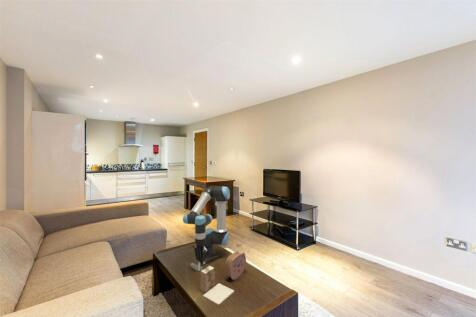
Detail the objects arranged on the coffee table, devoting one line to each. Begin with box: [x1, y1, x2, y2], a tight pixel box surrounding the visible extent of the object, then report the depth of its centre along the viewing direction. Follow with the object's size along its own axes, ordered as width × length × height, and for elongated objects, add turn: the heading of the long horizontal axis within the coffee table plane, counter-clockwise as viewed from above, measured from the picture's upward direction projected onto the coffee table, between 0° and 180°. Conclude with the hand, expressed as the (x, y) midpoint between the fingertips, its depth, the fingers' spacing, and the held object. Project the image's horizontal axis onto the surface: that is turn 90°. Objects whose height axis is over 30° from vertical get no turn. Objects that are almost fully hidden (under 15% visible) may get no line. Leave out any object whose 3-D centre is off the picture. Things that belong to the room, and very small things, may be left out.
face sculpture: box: [224, 251, 247, 281], centre depth 161 cm, size 20×7×17 cm, turn 144°
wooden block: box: [200, 265, 216, 294], centre depth 146 cm, size 9×5×13 cm, turn 144°
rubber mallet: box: [189, 253, 223, 272], centre depth 181 cm, size 10×4×30 cm
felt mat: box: [202, 283, 235, 306], centre depth 140 cm, size 16×14×1 cm
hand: (200, 269), depth 150 cm, fingers closed
